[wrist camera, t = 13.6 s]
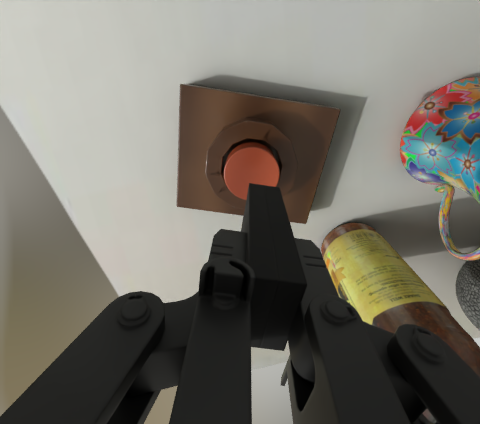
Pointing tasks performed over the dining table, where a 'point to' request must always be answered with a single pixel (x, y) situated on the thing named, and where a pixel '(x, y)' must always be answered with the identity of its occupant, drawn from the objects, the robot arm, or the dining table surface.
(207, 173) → the button block
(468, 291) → the decorative ball
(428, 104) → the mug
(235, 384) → the robot arm
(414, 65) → the dining table surface
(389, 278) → the sauce bottle
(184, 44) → the dining table surface
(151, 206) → the dining table surface
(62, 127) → the dining table surface
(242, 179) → the button
